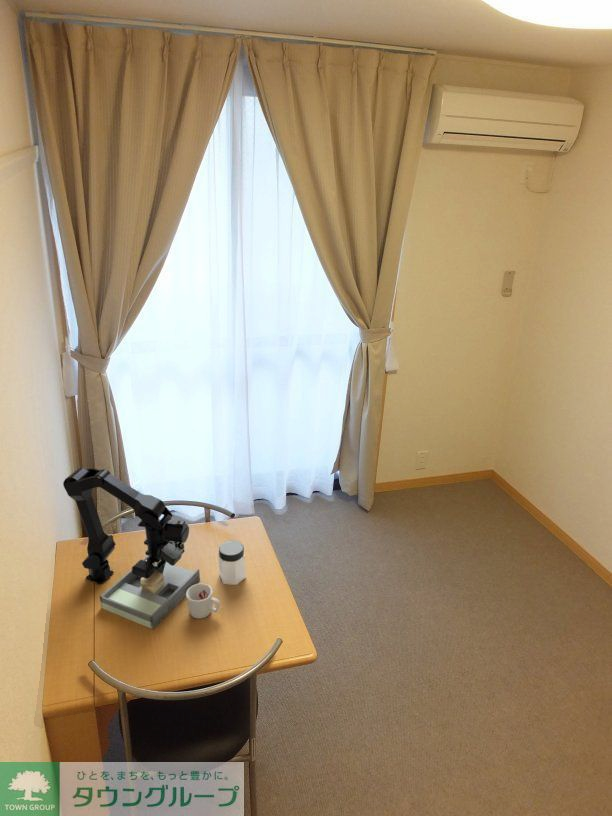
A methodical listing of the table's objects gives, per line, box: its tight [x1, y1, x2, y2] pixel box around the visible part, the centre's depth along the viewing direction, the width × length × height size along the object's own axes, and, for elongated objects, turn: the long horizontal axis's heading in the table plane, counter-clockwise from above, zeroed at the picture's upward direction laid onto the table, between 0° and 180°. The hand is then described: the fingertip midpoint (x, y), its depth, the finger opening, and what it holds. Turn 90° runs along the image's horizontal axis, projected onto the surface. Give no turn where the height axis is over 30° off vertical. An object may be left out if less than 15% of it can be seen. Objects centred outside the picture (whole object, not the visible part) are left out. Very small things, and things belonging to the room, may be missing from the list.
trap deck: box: [99, 555, 201, 630], centre depth 175 cm, size 20×24×4 cm
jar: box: [218, 539, 246, 586], centre depth 181 cm, size 9×8×12 cm
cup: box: [185, 583, 221, 619], centre depth 167 cm, size 11×8×8 cm
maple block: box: [140, 571, 164, 594], centre depth 174 cm, size 5×5×4 cm
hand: (160, 575), depth 178 cm, fingers closed
